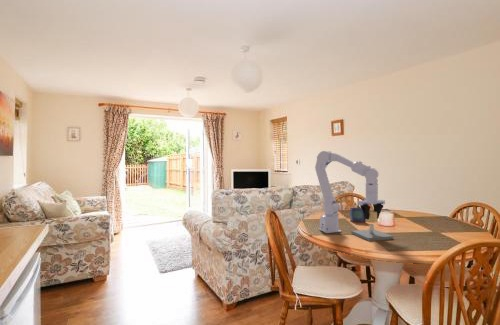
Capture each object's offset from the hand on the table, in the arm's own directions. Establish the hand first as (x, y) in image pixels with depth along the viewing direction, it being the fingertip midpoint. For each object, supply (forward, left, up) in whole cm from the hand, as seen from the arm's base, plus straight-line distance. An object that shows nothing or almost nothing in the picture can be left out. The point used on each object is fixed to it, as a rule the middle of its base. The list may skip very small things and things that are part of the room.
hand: (371, 218), depth 143 cm
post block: (0, 0, -9) cm, 9 cm away
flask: (+14, +31, -9) cm, 35 cm away
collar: (0, 0, -1) cm, 1 cm away
